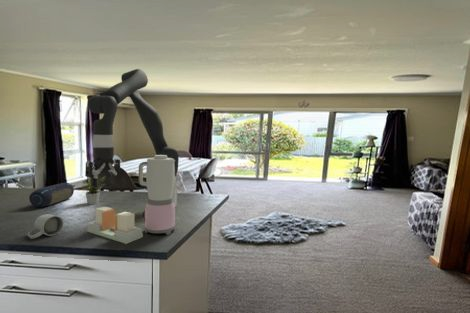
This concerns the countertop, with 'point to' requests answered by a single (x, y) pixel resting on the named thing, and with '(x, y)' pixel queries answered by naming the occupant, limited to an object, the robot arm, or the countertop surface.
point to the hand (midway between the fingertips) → (104, 185)
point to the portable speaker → (51, 194)
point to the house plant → (92, 192)
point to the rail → (112, 236)
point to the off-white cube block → (105, 217)
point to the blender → (159, 194)
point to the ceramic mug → (46, 226)
